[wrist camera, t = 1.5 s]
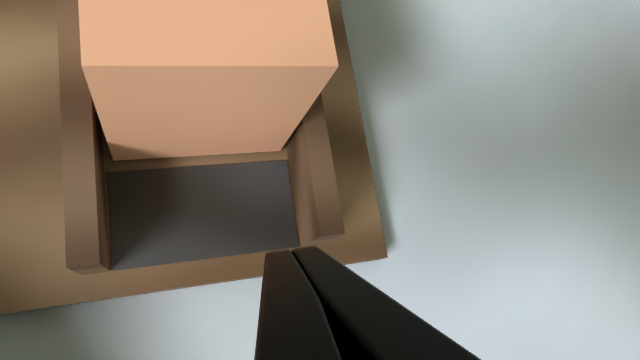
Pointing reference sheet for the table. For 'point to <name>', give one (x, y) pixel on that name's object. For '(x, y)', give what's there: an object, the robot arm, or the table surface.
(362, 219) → the tray
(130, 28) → the slider block
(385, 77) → the table surface
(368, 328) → the robot arm
